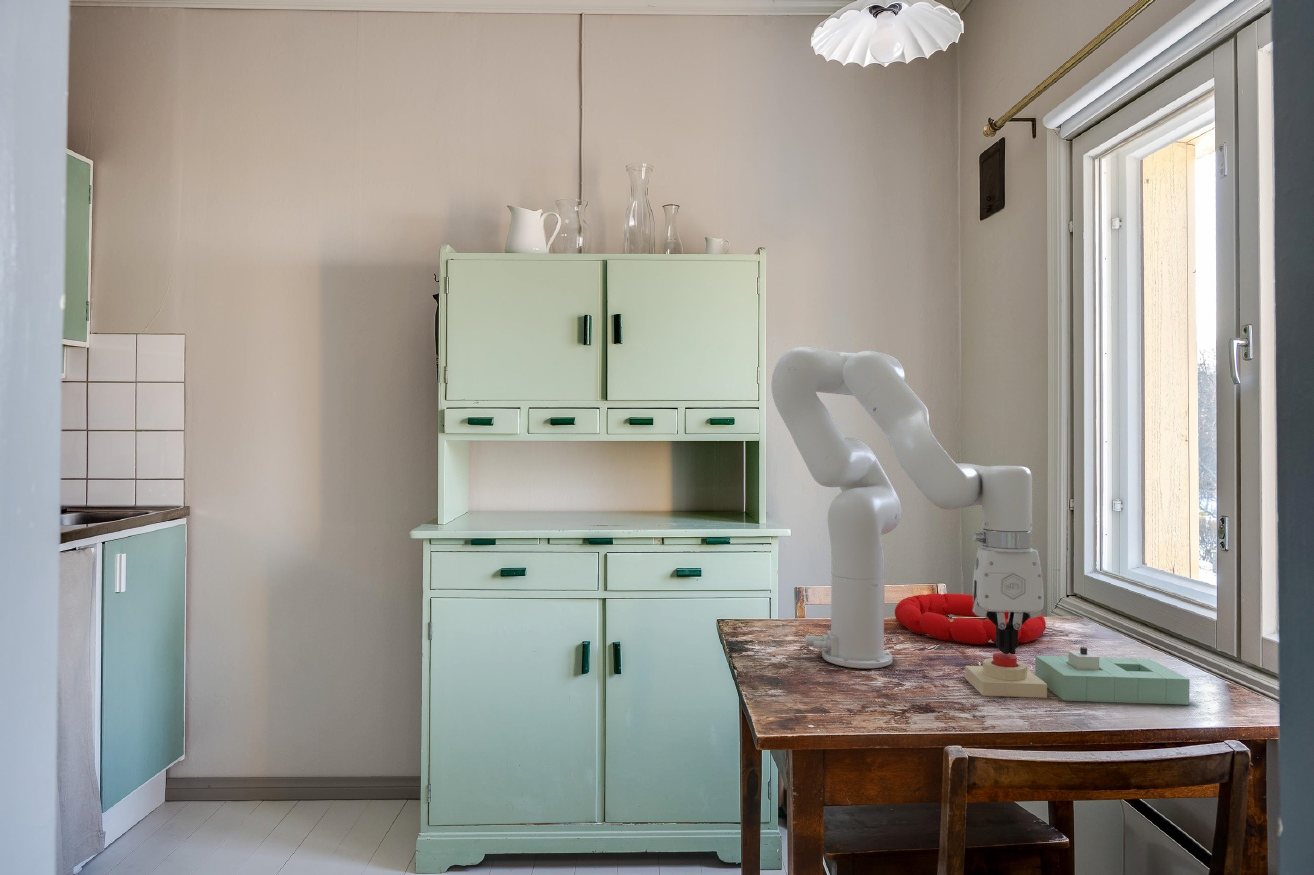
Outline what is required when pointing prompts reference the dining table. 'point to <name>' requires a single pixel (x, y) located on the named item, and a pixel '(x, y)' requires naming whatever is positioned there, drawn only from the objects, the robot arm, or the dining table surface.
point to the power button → (1004, 660)
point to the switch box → (1005, 680)
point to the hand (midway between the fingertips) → (1006, 651)
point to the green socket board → (1114, 681)
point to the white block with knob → (1083, 659)
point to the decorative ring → (956, 619)
